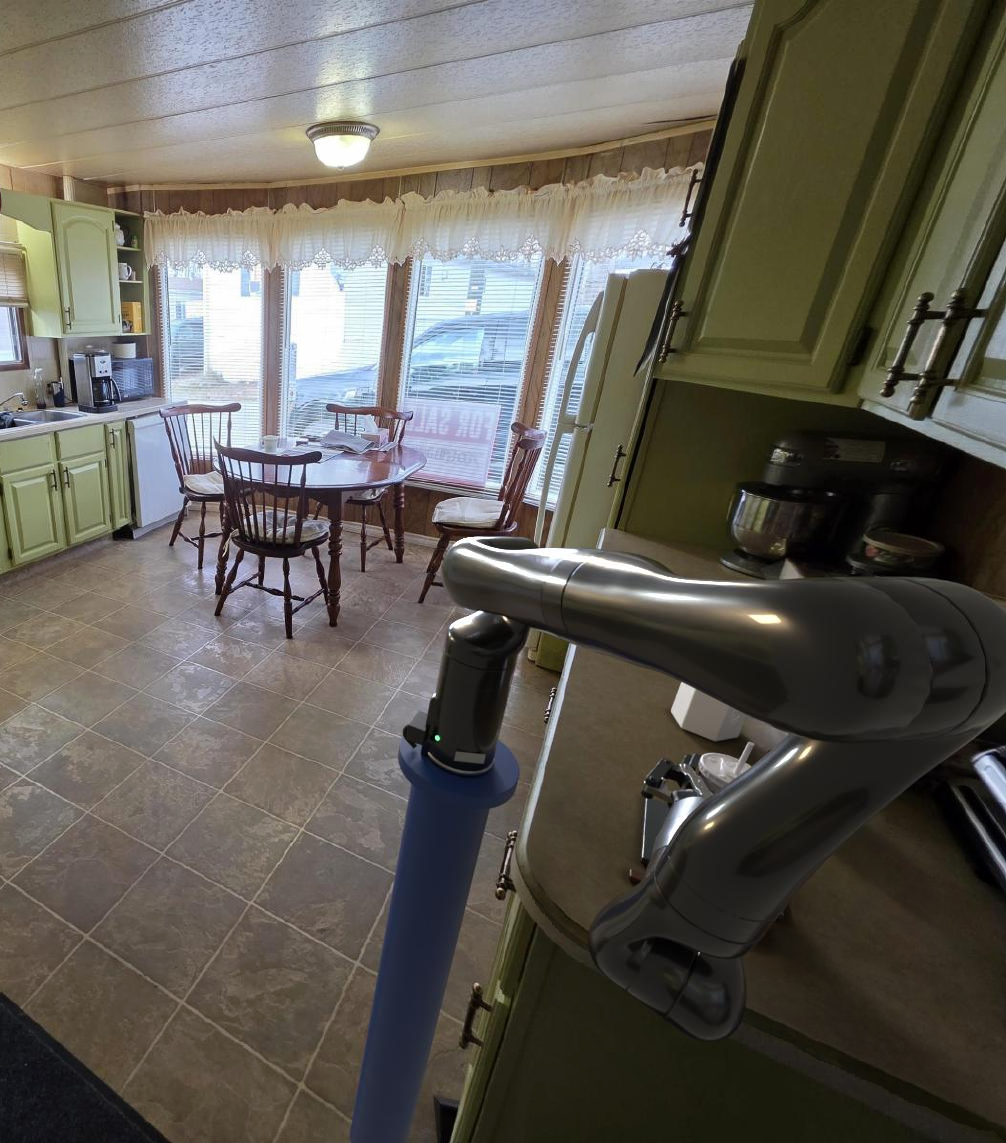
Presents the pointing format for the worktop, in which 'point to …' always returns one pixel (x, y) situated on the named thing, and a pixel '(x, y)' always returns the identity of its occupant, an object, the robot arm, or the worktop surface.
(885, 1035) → the worktop surface
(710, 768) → the smoothie
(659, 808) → the slate board
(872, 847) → the worktop surface
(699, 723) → the jar
